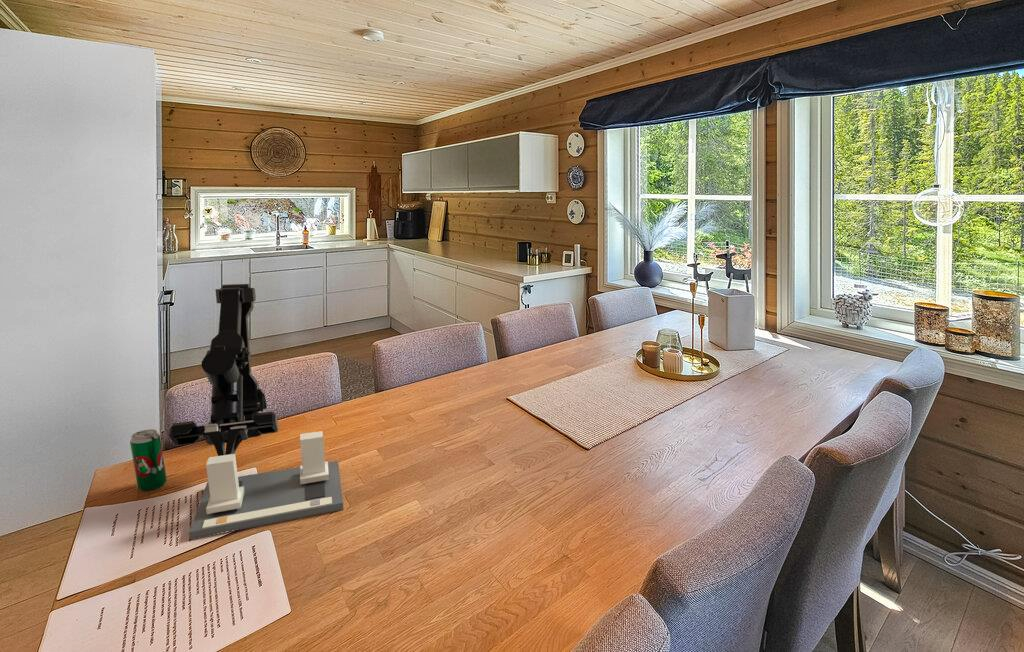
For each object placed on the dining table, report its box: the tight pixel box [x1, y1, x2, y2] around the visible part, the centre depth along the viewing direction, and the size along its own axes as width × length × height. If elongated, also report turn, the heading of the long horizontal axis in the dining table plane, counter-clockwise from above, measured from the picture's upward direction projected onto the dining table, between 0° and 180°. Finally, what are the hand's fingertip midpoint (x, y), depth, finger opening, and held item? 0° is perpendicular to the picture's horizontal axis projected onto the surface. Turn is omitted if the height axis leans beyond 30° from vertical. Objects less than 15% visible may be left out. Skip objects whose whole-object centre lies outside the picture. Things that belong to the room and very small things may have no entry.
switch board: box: [188, 460, 344, 540], centre depth 101 cm, size 18×26×2 cm
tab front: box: [205, 453, 244, 514], centre depth 95 cm, size 6×6×9 cm
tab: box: [299, 430, 329, 484], centre depth 105 cm, size 6×6×9 cm
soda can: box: [129, 429, 168, 492], centre depth 103 cm, size 5×5×12 cm
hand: (225, 469), depth 97 cm, fingers closed
